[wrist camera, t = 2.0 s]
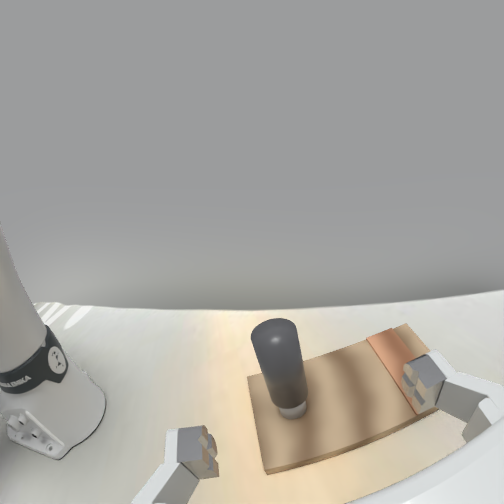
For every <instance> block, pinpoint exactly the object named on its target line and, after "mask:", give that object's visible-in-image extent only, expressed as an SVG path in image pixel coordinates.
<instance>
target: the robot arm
mask: <svg viewBox="0 0 504 504" xmlns="http://www.w3.org/2000/svg"><path fill="white" fill-rule="evenodd" d="M403 370H404V372H405V373H404V374H403V376H402V380H401V383H402V388H403V390H404V392H405V394H406V395H407V396H408V397H411V398H412V405H413V406H414V408H415V409H416V411H417V413H418V414H420V413H422V412H424V411H426V410H428V409H430V408H432V407H434V406H435V407H436V408H438V409H440V410H442V411H444V412H446V413H448V414H450V415H452V416H454V417H456V418H458V419H460V420H462V421H464V422H466V423H467V425H466V427H465V428H464V430H463V432H462V436H463V438H464V439H465V441H466V444H465V445H463V446H462V447H460V448H459V449H457V450H456V451H454V452H452V453H451V454H449V455H448V456H446V457H444V458H443V459H441V460H439V461H438V462H436V463H434V464H432V465H431V466H429V467H427V468H425V469H423V470H421V471H419V472H418V473H416V474H414V475H412V476H410V477H408V478H406V479H404V480H402V481H399V482H397V483H395V484H393V485H391V486H388V487H386V488H384V489H382V490H379V491H377V492H374V493H372V494H369V495H367V496H364V497H362V498H359V499H356V500H353V501H351V502H348V503H345V504H504V387H503V385H501V384H497V383H494V382H491V381H488V380H485V379H481V378H478V377H475V376H472V375H469V374H466V373H463V372H460V371H459V372H458V373H457V372H456V371H455V370H454V369H453V367H452V366H451V365H450V364H449V363H448V362H447V360H446V359H445V358H444V357H443V356H442V355H441V353H440V352H439V351H438V350H436V349H434V350H432V351H430V352H428V353H426V354H423V355H421V356H419V357H417V358H415V359H413V360H411V361H409V362H407V363H405V365H404V367H403ZM0 388H1V390H0V413H1V414H2V415H3V417H4V418H5V419H6V420H7V425H8V429H7V434H8V437H9V438H10V439H11V440H12V441H14V442H16V443H18V444H20V445H22V446H25V447H27V448H29V449H31V450H34V451H36V452H38V453H41V454H43V455H46V456H48V457H51V458H54V459H60V458H62V457H63V456H64V455H65V454H66V453H67V452H68V451H69V449H70V448H71V447H73V446H74V445H76V444H78V443H80V442H81V441H83V440H84V439H86V438H87V437H88V436H89V435H90V434H91V433H92V432H93V431H94V430H95V428H96V427H97V426H98V424H99V422H100V421H101V419H102V416H103V414H104V410H105V396H104V393H103V391H102V390H101V389H100V388H99V387H98V386H97V385H96V384H94V383H93V382H92V381H91V380H90V377H89V375H88V374H87V373H86V372H85V371H81V370H80V369H79V367H78V366H77V365H76V364H75V363H74V362H73V361H72V359H71V358H70V357H69V356H68V355H67V354H66V352H65V351H64V350H63V349H62V347H61V345H60V343H59V342H58V340H57V339H56V337H55V335H54V333H53V332H52V331H51V330H50V328H49V327H48V326H47V325H45V324H44V323H43V321H42V320H41V318H40V316H39V315H38V313H37V311H36V309H35V308H34V306H33V304H32V302H31V300H30V299H29V297H28V295H27V293H26V291H25V289H24V287H23V285H22V283H21V281H20V279H19V277H18V274H17V271H16V269H15V266H14V263H13V260H12V257H11V254H10V251H9V248H8V245H7V242H6V239H5V236H4V233H3V229H2V226H1V223H0ZM216 456H217V447H216V443H215V440H214V438H213V436H212V435H211V434H208V432H207V428H206V427H205V426H204V425H202V426H195V427H187V428H178V429H170V430H167V432H166V439H165V455H164V464H160V466H159V467H158V468H157V470H156V471H155V472H154V473H153V475H152V476H151V477H150V479H149V480H148V481H147V483H146V484H145V485H144V486H143V488H142V489H141V490H140V492H139V493H138V494H137V495H136V497H135V498H134V499H133V500H132V504H187V503H188V501H189V499H190V497H191V495H192V494H193V492H194V490H195V488H196V486H197V485H198V483H199V481H200V480H199V479H207V478H214V477H219V469H218V463H217V462H216V460H215V457H216Z"/></svg>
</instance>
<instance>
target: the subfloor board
mask: <svg viewBox="0 0 504 504" xmlns="http://www.w3.org/2000/svg"><path fill="white" fill-rule="evenodd" d="M428 352H430V350H429V349H428V348H427V347H426V345H425V344H424V343H423V342H422V341H421V340H420V339H419V337H418V336H417V335H416V334H415V333H414V332H413V331H412V329H411V328H410V327H409V326H408V325H407V324H403V325H401V326H399V327H396V328H394V329H392V328H390V329H388V330H385V331H383V332H380V333H378V334H375V335H373V336H370V337H368V338H366V340H364V341H361V342H358V343H356V344H353V345H350V346H347V347H345V348H342V349H339V350H336V351H333V352H330V353H327V354H324V355H321V356H318V357H315V358H312V359H309V360H306V361H303V365H304V370H305V376H306V381H307V387H308V396H307V399H306V400H305V401H306V407H307V408H306V412H305V413H304V414H303V415H302V416H301V417H299V418H297V419H287V418H285V417H283V416H282V415H281V413H280V409H279V407H277V406H276V405H274V404H273V402H272V400H271V397H270V394H269V391H268V389H267V386H266V383H265V380H264V377H263V374H262V373H260V374H256V375H252V376H248V377H247V379H248V385H249V390H250V396H251V402H252V407H253V413H254V418H255V424H256V429H257V434H258V440H259V445H260V450H261V456H262V461H263V466H264V470H265V472H266V473H267V475H268V474H273V473H277V472H281V471H285V470H289V469H293V468H297V467H301V466H304V465H308V464H311V463H315V462H318V461H321V460H324V459H327V458H331V457H334V456H336V455H339V454H342V453H345V452H348V451H350V450H353V449H356V448H358V447H361V446H363V445H366V444H368V443H371V442H373V441H376V440H378V439H380V438H383V437H385V436H387V435H389V434H392V433H394V432H396V431H398V430H400V429H402V428H404V427H406V426H408V425H410V424H412V423H414V422H416V421H418V420H420V419H422V418H424V417H426V416H427V415H429V414H431V413H433V412H435V411H436V410H438V408H436V407H435V406H434V407H432V408H430V409H428V410H426V411H424V412H422V413H420V414H418V413H417V411H416V409H415V408H414V406H413V405H412V398H411V397H408V396H407V395H406V394H405V392H404V390H403V388H402V383H401V380H402V376H403V374H404V373H405V372H404V370H403V367H404V365H405V363H407V362H409V361H411V360H413V359H415V358H417V357H419V356H421V355H423V354H426V353H428Z"/></svg>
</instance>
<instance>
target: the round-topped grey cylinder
mask: <svg viewBox="0 0 504 504" xmlns="http://www.w3.org/2000/svg"><path fill="white" fill-rule="evenodd" d="M251 341H252V344H253V347H254V350H255V353H256V356H257V359H258V362H259V365H260V368H261V371H262V374H263V377H264V380H265V383H266V386H267V389H268V391H269V394H270V397H271V400H272V402H273V404H274V405H276V406H277V407H279V409H280V413H281V415H282V416H283V417H285V418H287V419H297V418H299V417H301V416H302V415H303V414H304V413H305V412H306V408H307V407H306V401H305V400H306V399H307V396H308V387H307V381H306V376H305V370H304V365H303V360H302V355H301V349H300V344H299V339H298V334H297V329H296V326H295V324H294V323H293V322H291V321H290V320H287V319H282V318H276V319H270V320H267V321H264V322H262V323H261V324H259V325H258V326H256V327H255V328H254V330H253V331H252V333H251Z"/></svg>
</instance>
